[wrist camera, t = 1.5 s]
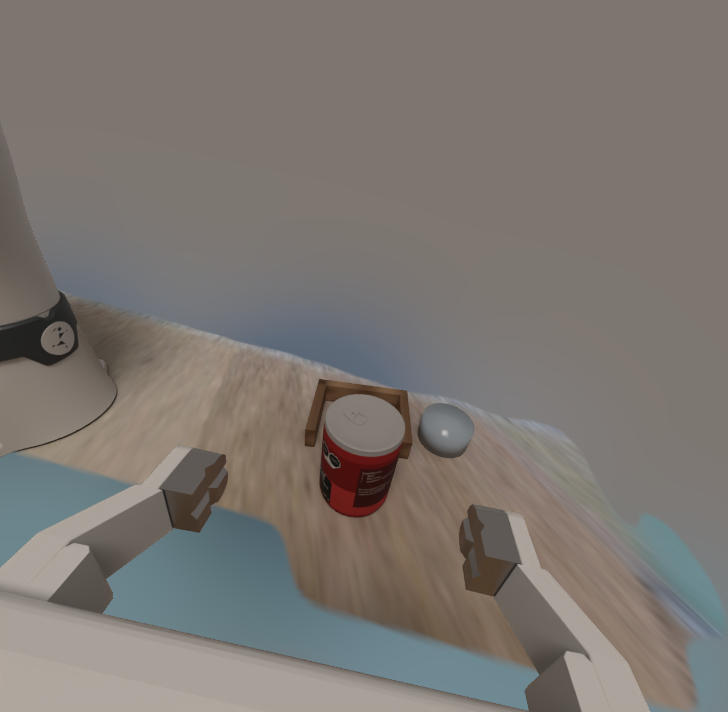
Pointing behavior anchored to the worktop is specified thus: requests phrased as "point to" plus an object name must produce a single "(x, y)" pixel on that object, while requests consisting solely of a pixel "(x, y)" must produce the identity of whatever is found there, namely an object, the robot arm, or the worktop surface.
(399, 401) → the bay
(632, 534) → the worktop surface
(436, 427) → the grey rounded cylinder
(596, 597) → the worktop surface
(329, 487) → the canned food
